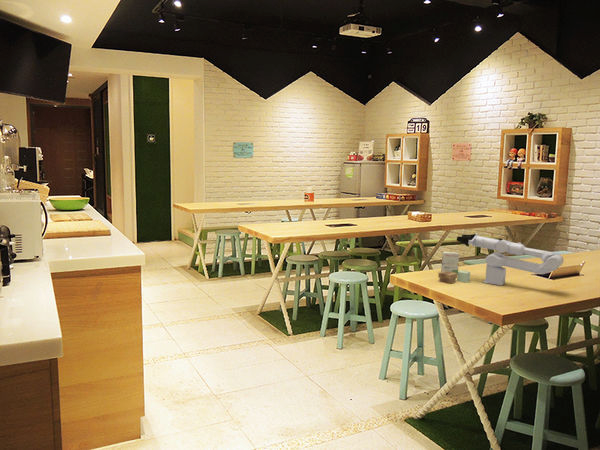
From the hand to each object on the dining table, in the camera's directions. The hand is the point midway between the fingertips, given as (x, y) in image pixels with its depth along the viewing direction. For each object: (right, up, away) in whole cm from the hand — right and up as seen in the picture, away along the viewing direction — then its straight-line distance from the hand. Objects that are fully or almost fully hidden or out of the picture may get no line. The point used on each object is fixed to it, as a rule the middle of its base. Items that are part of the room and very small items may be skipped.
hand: (459, 237), depth 274 cm
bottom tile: (-9, -23, -8) cm, 26 cm away
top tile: (-9, -21, -8) cm, 24 cm away
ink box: (-2, -20, +11) cm, 23 cm away
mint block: (0, -23, -6) cm, 24 cm away
